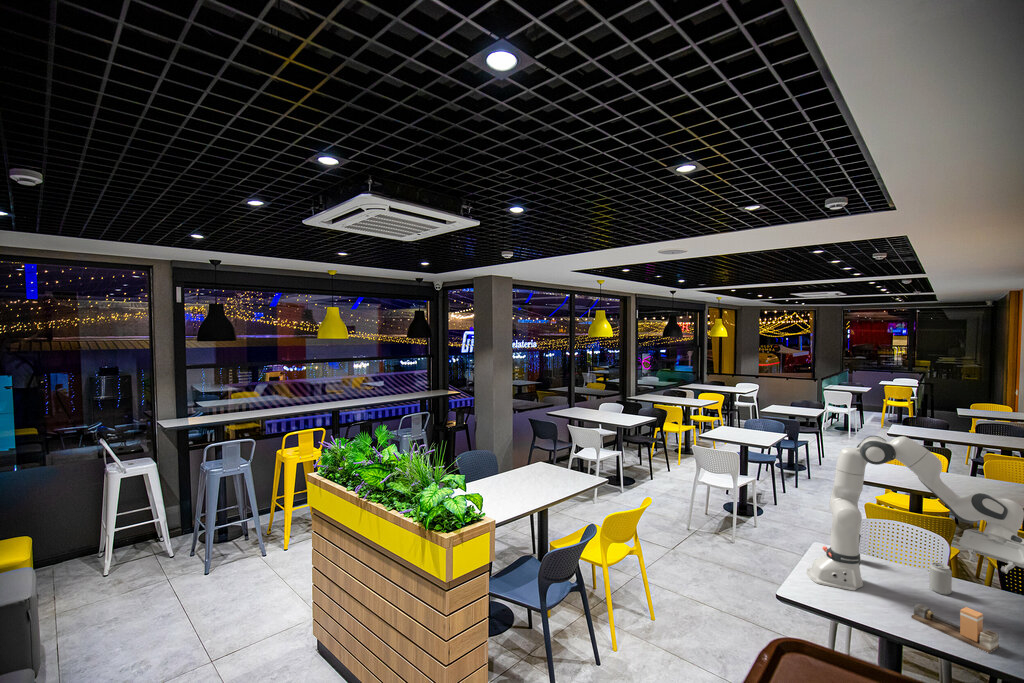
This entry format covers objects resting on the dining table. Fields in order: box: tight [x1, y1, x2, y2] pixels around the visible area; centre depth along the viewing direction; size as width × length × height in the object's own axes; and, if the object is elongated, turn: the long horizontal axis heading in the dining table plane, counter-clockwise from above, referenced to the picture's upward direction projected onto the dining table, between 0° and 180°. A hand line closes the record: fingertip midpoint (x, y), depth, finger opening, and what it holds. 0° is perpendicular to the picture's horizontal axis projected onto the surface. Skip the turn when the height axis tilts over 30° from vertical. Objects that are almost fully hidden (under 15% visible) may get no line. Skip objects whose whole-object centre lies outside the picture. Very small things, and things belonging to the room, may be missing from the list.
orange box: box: [959, 606, 984, 642], centre depth 181 cm, size 5×4×10 cm
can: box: [928, 562, 953, 596], centre depth 214 cm, size 8×8×12 cm
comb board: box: [910, 603, 1000, 654], centre depth 186 cm, size 24×8×6 cm, turn 25°
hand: (987, 566), depth 186 cm, fingers open, 8 cm apart
